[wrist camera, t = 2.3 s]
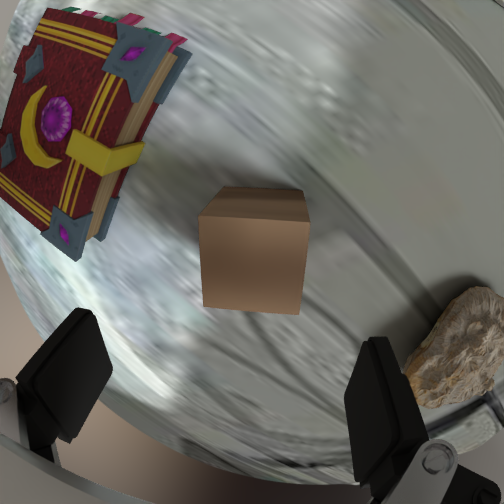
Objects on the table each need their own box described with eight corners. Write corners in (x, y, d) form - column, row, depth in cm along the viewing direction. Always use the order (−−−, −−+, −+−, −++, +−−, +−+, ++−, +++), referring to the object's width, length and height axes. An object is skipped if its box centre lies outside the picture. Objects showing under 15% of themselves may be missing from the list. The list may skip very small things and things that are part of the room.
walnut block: (223, 186, 18) (198, 215, 13) (302, 190, 18) (310, 222, 13) (224, 256, 21) (203, 306, 15) (296, 261, 20) (299, 314, 15)
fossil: (464, 262, 18) (551, 325, 12) (458, 277, 25) (525, 325, 19) (382, 388, 20) (464, 451, 14) (397, 372, 26) (461, 421, 20)
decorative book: (22, 175, 20) (-17, 191, 15) (88, 3, 13) (48, -11, 9) (108, 237, 21) (72, 266, 17) (205, 41, 15) (178, 18, 10)
